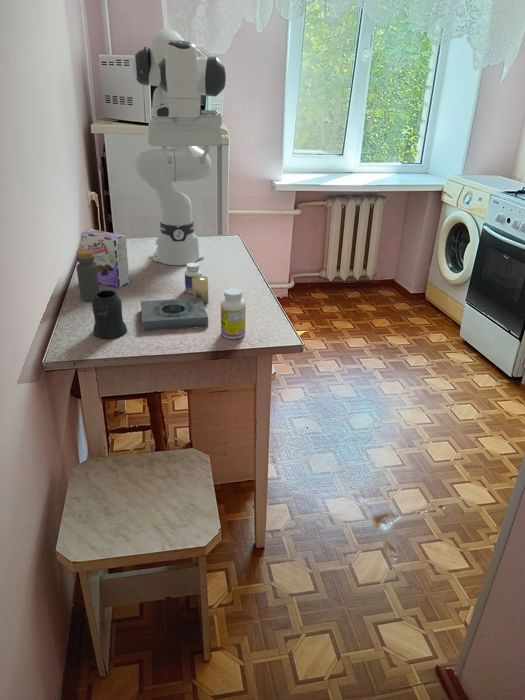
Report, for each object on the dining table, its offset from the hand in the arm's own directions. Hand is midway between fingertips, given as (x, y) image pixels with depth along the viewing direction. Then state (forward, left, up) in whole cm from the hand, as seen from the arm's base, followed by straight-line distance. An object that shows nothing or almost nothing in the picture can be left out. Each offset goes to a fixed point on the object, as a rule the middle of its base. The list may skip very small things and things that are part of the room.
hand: (185, 163), depth 151 cm
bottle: (-2, -31, -40) cm, 51 cm away
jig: (+17, -7, -40) cm, 44 cm away
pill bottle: (-3, +1, -40) cm, 40 cm away
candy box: (-15, -26, -40) cm, 50 cm away
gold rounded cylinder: (+7, +2, -40) cm, 41 cm away
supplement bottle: (+30, +8, -40) cm, 51 cm away
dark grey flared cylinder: (+24, -25, -40) cm, 53 cm away
